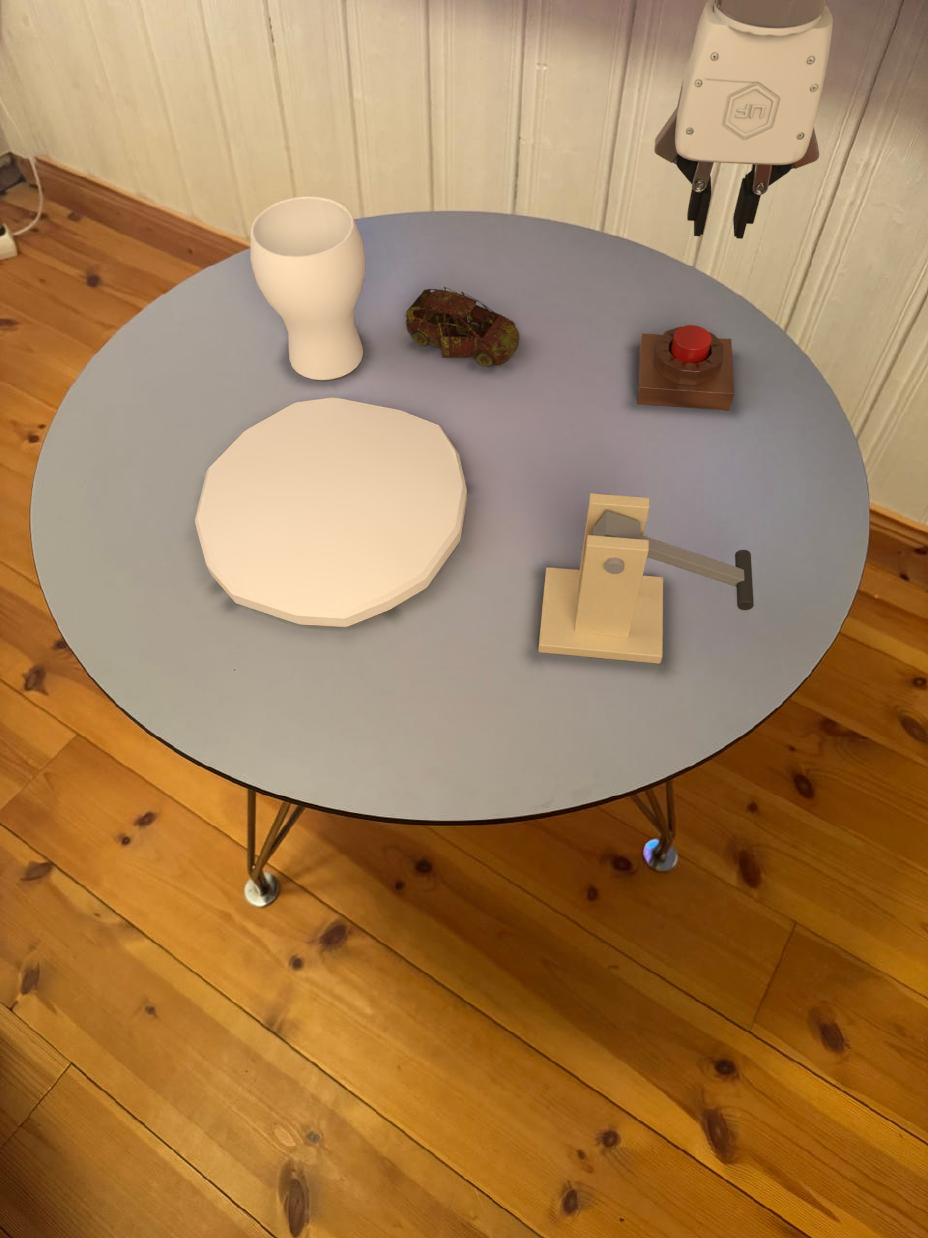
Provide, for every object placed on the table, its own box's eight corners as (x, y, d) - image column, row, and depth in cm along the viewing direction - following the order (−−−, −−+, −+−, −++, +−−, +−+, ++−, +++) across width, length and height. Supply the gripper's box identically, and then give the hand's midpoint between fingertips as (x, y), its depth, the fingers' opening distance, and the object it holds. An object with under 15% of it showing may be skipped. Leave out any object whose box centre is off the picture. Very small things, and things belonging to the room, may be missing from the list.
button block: (726, 355, 95) (735, 324, 92) (729, 410, 91) (738, 379, 88) (639, 350, 96) (644, 318, 93) (637, 404, 92) (643, 372, 88)
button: (707, 340, 91) (711, 325, 90) (708, 364, 89) (712, 350, 88) (671, 337, 92) (673, 323, 90) (670, 362, 90) (673, 348, 88)
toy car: (396, 348, 97) (392, 310, 93) (427, 309, 100) (425, 271, 96) (499, 382, 94) (499, 344, 90) (527, 341, 97) (529, 302, 93)
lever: (740, 564, 74) (758, 547, 72) (743, 616, 71) (761, 600, 69) (593, 514, 71) (607, 495, 69) (590, 566, 68) (605, 548, 66)
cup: (255, 367, 96) (220, 238, 83) (316, 310, 101) (291, 180, 88) (337, 404, 93) (314, 275, 80) (396, 343, 98) (383, 212, 85)
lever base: (661, 584, 80) (687, 485, 69) (660, 664, 75) (688, 570, 65) (545, 574, 80) (554, 474, 70) (538, 652, 76) (546, 558, 65)
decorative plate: (259, 361, 90) (502, 415, 85) (268, 393, 94) (501, 446, 89) (131, 556, 77) (408, 631, 73) (147, 584, 81) (412, 658, 76)
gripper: (653, 9, 63) (621, 249, 78) (900, 17, 61) (818, 260, 77) (654, -39, 67) (624, 197, 82) (886, -33, 65) (810, 207, 81)
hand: (718, 226), depth 79 cm, fingers closed
